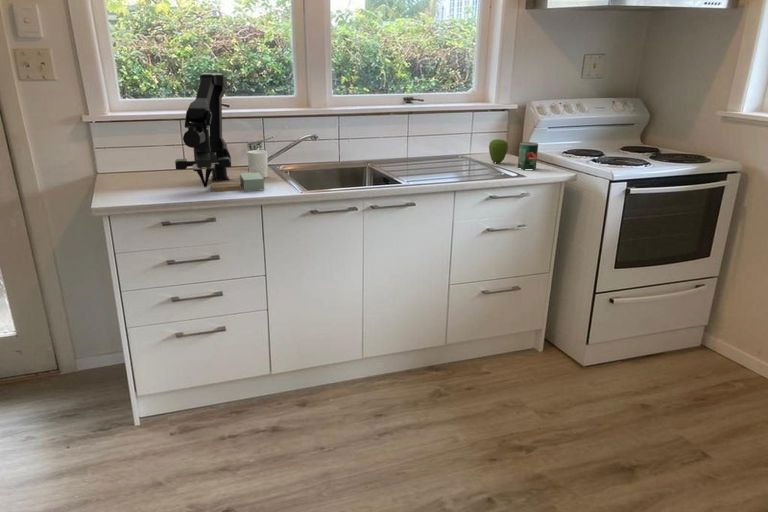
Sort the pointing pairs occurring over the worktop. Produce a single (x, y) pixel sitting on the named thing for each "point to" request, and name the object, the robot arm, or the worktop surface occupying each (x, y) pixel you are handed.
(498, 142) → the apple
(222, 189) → the board
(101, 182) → the worktop surface
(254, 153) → the white cup
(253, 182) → the green channel beam
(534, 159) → the canned tomato
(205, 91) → the robot arm
